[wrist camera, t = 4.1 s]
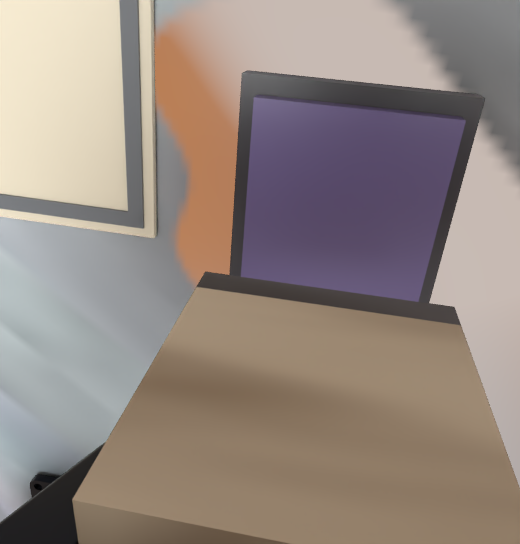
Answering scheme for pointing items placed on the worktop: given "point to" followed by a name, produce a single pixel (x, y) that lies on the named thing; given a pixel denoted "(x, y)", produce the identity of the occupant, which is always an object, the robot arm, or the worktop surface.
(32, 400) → the worktop surface
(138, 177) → the cream square plate
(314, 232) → the ink pad
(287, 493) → the stamp
